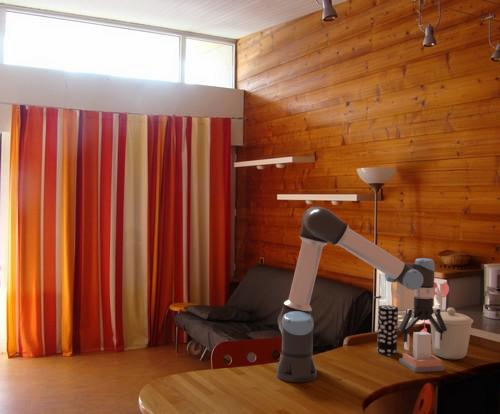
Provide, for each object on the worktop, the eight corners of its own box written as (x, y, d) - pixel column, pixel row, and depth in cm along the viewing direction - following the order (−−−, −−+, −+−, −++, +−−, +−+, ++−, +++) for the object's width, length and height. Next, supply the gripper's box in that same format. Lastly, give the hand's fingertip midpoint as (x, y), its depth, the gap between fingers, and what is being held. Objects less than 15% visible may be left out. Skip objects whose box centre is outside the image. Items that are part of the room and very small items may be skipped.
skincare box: (425, 360, 234) (426, 331, 233) (431, 363, 229) (432, 334, 229) (411, 360, 233) (412, 331, 232) (416, 364, 228) (417, 334, 228)
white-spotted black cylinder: (398, 355, 244) (400, 309, 243) (379, 355, 244) (380, 309, 243) (394, 350, 252) (395, 305, 252) (375, 349, 253) (376, 305, 252)
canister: (442, 347, 258) (443, 301, 257) (480, 357, 244) (481, 309, 243) (419, 354, 246) (420, 306, 246) (457, 365, 233) (459, 314, 232)
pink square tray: (414, 372, 223) (414, 362, 223) (399, 361, 236) (399, 352, 236) (444, 370, 226) (444, 360, 226) (427, 360, 239) (428, 350, 239)
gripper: (399, 299, 224) (397, 352, 224) (456, 298, 229) (454, 350, 230) (391, 295, 231) (389, 347, 232) (446, 294, 236) (444, 345, 237)
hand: (421, 348), depth 231 cm, fingers open, 13 cm apart
